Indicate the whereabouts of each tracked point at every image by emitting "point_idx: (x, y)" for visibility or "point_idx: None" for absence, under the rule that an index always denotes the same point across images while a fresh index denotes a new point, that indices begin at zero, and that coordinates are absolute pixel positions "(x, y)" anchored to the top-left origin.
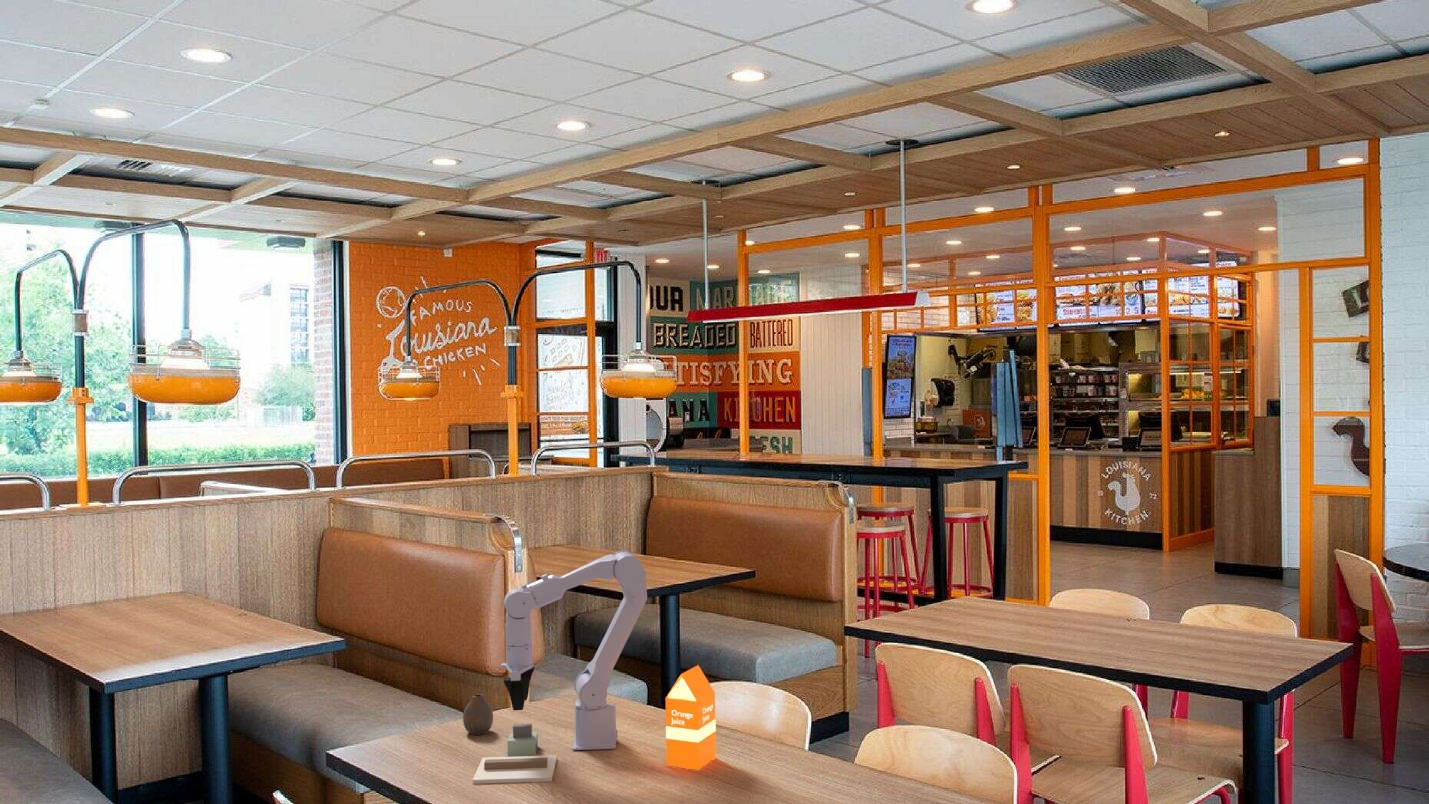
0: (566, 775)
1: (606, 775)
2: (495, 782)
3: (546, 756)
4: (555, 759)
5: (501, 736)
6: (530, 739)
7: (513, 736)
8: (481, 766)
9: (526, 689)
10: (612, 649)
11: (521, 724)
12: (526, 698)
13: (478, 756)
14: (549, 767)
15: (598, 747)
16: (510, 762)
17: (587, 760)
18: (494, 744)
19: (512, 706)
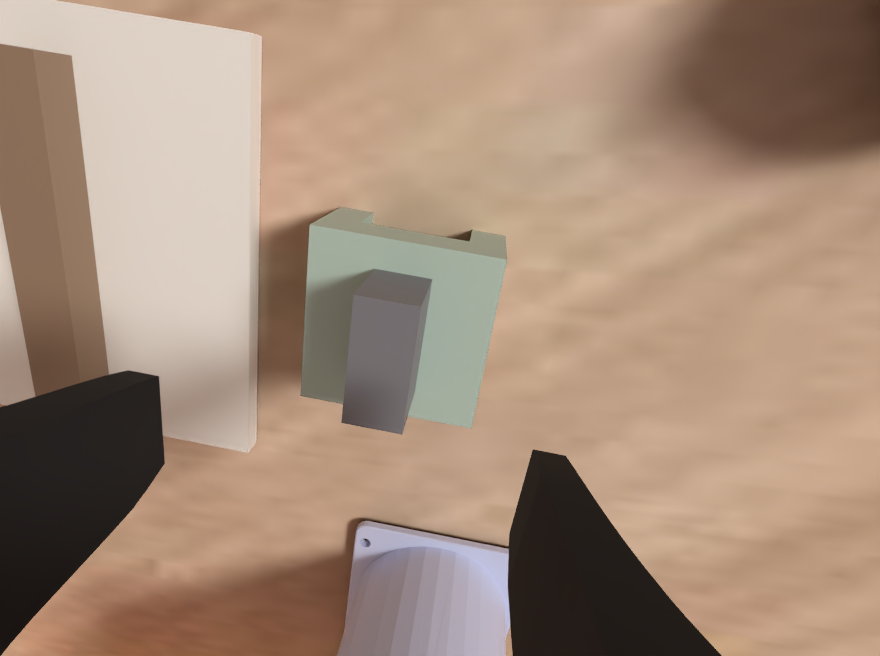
0: None
1: None
2: None
3: (234, 406)
4: (185, 438)
5: (777, 185)
6: (317, 372)
7: (371, 274)
8: (75, 25)
9: (521, 652)
10: None
11: (402, 362)
12: (510, 548)
13: (369, 3)
14: None
15: (348, 611)
16: (6, 219)
17: (222, 544)
18: (607, 128)
19: (89, 382)
